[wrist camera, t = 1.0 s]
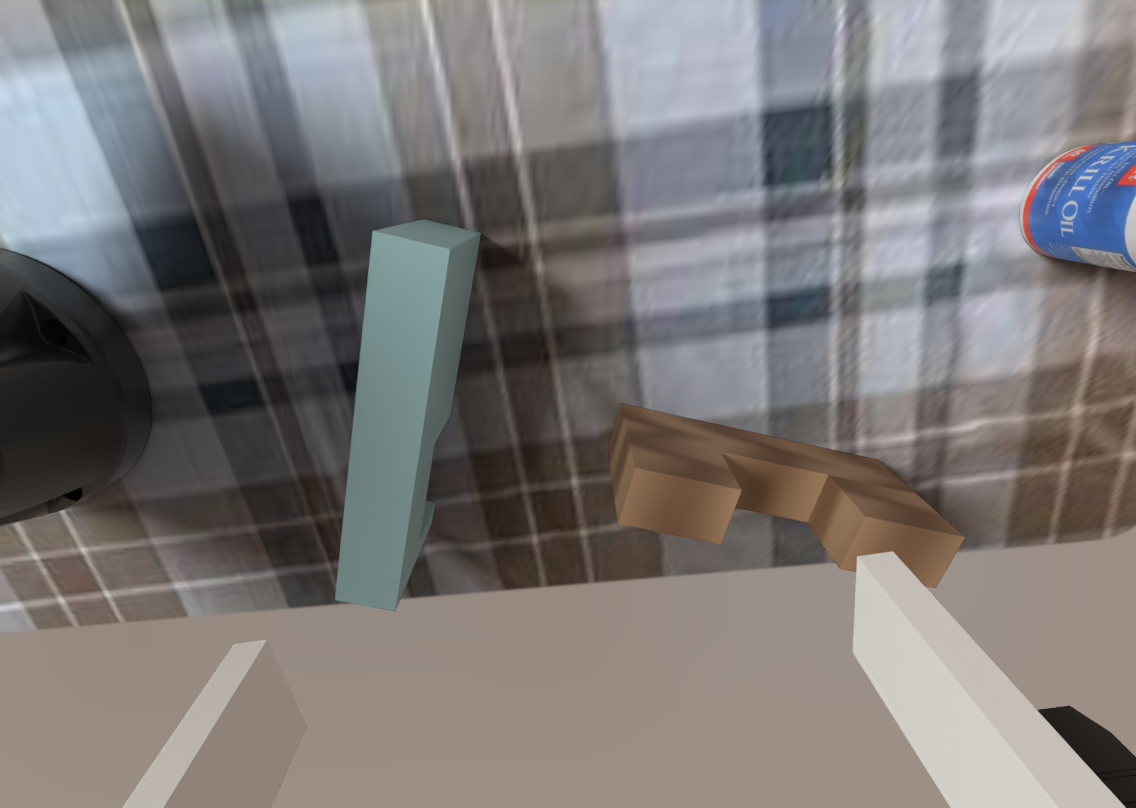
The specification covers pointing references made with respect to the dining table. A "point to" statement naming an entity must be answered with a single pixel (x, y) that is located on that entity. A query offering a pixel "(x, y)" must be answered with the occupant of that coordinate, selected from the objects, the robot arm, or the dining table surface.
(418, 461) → the teal bridge block
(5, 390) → the robot arm
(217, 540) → the dining table surface
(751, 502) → the brown u-shaped block
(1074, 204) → the pill bottle
